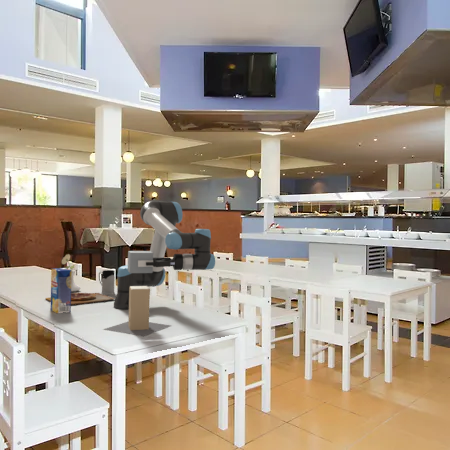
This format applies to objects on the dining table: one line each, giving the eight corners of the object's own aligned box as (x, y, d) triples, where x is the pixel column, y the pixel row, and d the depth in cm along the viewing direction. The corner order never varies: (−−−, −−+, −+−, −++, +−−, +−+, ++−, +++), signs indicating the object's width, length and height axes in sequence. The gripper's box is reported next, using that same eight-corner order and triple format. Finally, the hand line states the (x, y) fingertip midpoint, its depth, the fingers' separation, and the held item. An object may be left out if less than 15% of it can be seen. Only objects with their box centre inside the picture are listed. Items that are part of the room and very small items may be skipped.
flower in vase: (73, 289, 298) (74, 252, 298) (83, 291, 291) (84, 254, 291) (56, 291, 288) (57, 253, 287) (66, 293, 281) (67, 255, 281)
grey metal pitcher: (106, 295, 279) (107, 272, 279) (93, 292, 287) (93, 270, 287) (117, 293, 286) (118, 271, 286) (104, 291, 294) (104, 269, 294)
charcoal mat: (134, 320, 213) (134, 319, 213) (171, 326, 203) (172, 325, 203) (103, 330, 193) (103, 329, 193) (143, 337, 184) (143, 336, 184)
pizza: (96, 294, 284) (96, 288, 284) (118, 301, 264) (119, 295, 264) (42, 300, 259) (42, 294, 259) (62, 308, 239) (62, 301, 239)
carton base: (128, 325, 201) (129, 286, 201) (146, 324, 204) (147, 285, 203) (130, 330, 193) (131, 289, 193) (148, 329, 196) (149, 288, 196)
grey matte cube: (127, 270, 201) (128, 251, 201) (149, 270, 204) (149, 251, 204) (129, 273, 192) (130, 252, 192) (152, 272, 195) (153, 252, 195)
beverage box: (63, 308, 237) (64, 267, 237) (70, 311, 229) (71, 270, 228) (50, 309, 233) (51, 268, 232) (57, 313, 224) (58, 270, 224)
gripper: (188, 273, 192) (139, 273, 186) (176, 266, 216) (133, 267, 209) (188, 256, 192) (139, 256, 186) (177, 251, 216) (133, 251, 209)
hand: (136, 262), depth 197 cm, fingers open, 13 cm apart
